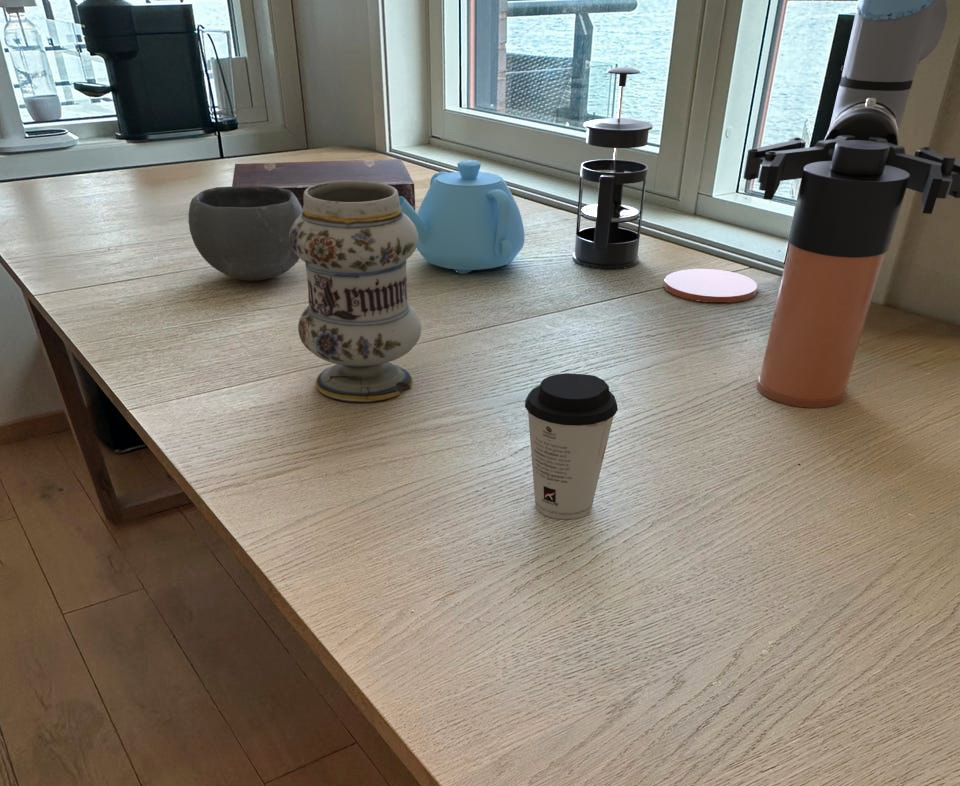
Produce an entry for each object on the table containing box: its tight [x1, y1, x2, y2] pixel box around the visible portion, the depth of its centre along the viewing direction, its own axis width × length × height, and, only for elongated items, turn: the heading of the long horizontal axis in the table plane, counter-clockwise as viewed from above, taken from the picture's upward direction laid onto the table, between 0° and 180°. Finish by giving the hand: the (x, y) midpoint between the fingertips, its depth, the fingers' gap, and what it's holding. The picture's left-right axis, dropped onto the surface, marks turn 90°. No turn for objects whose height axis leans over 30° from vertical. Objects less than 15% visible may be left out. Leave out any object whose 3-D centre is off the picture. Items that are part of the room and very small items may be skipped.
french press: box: [572, 66, 654, 270], centre depth 115 cm, size 12×9×23 cm
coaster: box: [663, 268, 759, 304], centre depth 113 cm, size 12×12×1 cm
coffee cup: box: [524, 372, 619, 520], centre depth 66 cm, size 7×7×10 cm
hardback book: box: [231, 158, 416, 211], centre depth 145 cm, size 29×19×5 cm, turn 101°
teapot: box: [399, 160, 525, 274], centre depth 116 cm, size 20×20×13 cm
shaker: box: [756, 242, 886, 409], centre depth 83 cm, size 9×9×14 cm
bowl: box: [188, 185, 302, 282], centre depth 112 cm, size 15×15×10 cm
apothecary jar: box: [289, 180, 422, 403], centre depth 82 cm, size 12×12×18 cm
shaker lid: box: [787, 140, 910, 257], centre depth 76 cm, size 9×9×8 cm
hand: (849, 189), depth 76 cm, fingers open, 13 cm apart
